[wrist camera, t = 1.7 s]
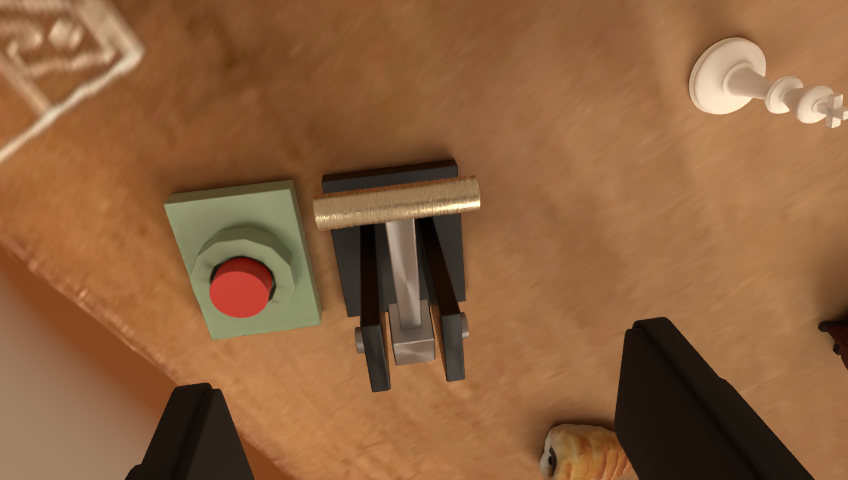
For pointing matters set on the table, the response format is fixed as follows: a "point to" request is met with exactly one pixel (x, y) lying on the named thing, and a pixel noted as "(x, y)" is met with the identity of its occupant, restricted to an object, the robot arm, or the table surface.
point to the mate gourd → (838, 337)
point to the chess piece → (757, 85)
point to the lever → (401, 245)
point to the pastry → (582, 454)
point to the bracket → (373, 279)
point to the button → (241, 287)
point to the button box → (247, 252)
